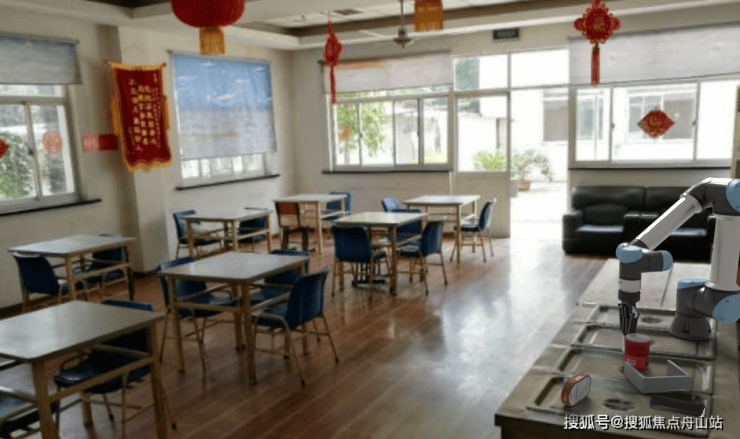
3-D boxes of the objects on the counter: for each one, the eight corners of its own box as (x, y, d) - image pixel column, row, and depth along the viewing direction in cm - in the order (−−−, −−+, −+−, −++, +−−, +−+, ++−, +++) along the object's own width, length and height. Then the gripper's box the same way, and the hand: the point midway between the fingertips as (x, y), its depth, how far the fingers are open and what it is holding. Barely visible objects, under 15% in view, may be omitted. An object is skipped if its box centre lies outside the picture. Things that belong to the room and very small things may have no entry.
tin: (583, 392, 194) (584, 367, 192) (592, 395, 192) (593, 370, 190) (559, 408, 184) (560, 382, 182) (569, 411, 181) (569, 385, 180)
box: (669, 373, 206) (670, 360, 205) (691, 391, 192) (692, 376, 192) (623, 375, 205) (624, 361, 205) (642, 393, 192) (643, 378, 191)
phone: (705, 415, 175) (649, 404, 183) (704, 419, 175) (649, 408, 183) (705, 404, 182) (651, 394, 189) (705, 408, 182) (651, 397, 189)
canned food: (651, 371, 208) (652, 341, 207) (626, 369, 210) (628, 340, 208) (645, 362, 216) (647, 333, 214) (622, 361, 217) (623, 332, 216)
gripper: (611, 285, 223) (609, 345, 227) (627, 294, 210) (624, 358, 214) (631, 284, 223) (628, 344, 227) (648, 294, 210) (644, 357, 214)
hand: (626, 351), depth 220 cm, fingers closed
